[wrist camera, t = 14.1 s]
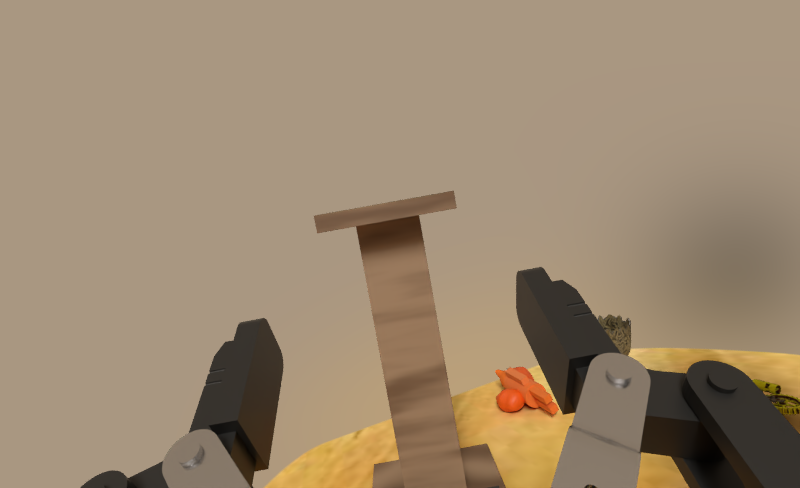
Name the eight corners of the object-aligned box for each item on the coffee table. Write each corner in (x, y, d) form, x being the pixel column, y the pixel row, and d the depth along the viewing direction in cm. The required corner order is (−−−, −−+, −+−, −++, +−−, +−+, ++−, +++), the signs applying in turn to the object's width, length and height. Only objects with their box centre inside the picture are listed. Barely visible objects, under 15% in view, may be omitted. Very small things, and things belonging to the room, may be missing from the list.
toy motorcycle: (811, 387, 48) (771, 409, 45) (815, 420, 48) (776, 443, 45) (702, 360, 59) (666, 376, 56) (706, 387, 59) (670, 403, 57)
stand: (524, 542, 38) (465, 188, 36) (370, 571, 38) (302, 217, 36) (488, 455, 52) (444, 196, 50) (376, 476, 52) (327, 217, 50)
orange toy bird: (558, 377, 57) (510, 354, 69) (515, 410, 55) (473, 380, 67) (573, 407, 58) (523, 379, 69) (532, 441, 56) (487, 406, 68)
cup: (578, 366, 73) (571, 321, 72) (616, 356, 74) (609, 311, 74) (606, 381, 66) (598, 331, 65) (648, 370, 67) (641, 320, 66)
